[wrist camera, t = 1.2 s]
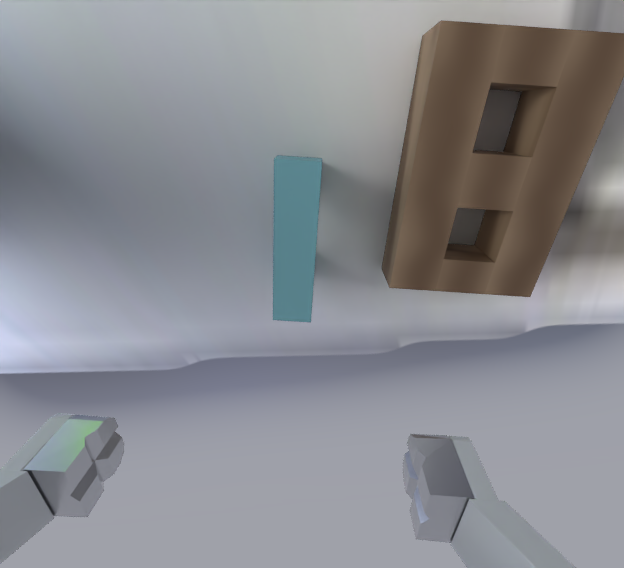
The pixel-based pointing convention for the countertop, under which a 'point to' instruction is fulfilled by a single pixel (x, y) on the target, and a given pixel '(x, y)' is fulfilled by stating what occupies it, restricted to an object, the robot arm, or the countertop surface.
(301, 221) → the teal long block
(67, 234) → the countertop surface
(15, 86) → the countertop surface
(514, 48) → the wooden board with holes
